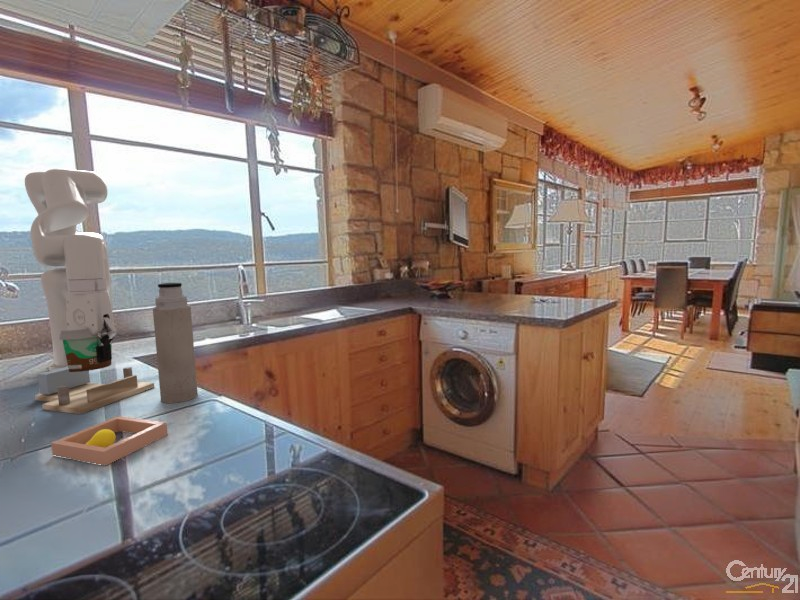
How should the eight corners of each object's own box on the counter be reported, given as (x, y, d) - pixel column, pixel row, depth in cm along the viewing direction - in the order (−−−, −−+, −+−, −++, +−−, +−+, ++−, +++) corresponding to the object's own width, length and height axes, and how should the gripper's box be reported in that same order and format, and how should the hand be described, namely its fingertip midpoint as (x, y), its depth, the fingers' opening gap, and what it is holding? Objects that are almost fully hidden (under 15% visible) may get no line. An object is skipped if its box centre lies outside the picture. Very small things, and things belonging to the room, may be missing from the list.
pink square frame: (52, 456, 73) (51, 442, 73) (119, 427, 84) (118, 416, 84) (105, 466, 69) (103, 451, 69) (167, 434, 81) (166, 422, 80)
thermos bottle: (182, 390, 107) (173, 281, 104) (205, 394, 104) (196, 281, 101) (153, 400, 100) (142, 284, 97) (176, 405, 97) (165, 284, 94)
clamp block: (40, 393, 103) (37, 373, 102) (81, 381, 112) (79, 363, 112) (48, 394, 102) (46, 374, 101) (90, 382, 111) (88, 363, 111)
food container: (84, 374, 96) (80, 331, 95) (62, 373, 97) (58, 331, 96) (129, 361, 108) (126, 323, 107) (109, 360, 109) (106, 322, 108)
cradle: (16, 405, 99) (13, 384, 98) (96, 381, 117) (94, 363, 116) (80, 414, 92) (77, 391, 92) (154, 387, 110) (152, 368, 110)
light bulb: (121, 444, 77) (115, 431, 75) (84, 466, 73) (77, 452, 71) (113, 435, 79) (107, 422, 77) (76, 455, 75) (69, 441, 73)
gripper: (45, 288, 100) (54, 362, 102) (98, 287, 94) (106, 366, 96) (78, 285, 107) (86, 355, 109) (128, 285, 101) (136, 358, 103)
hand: (95, 359), depth 102 cm, fingers closed on food container, 5 cm apart
